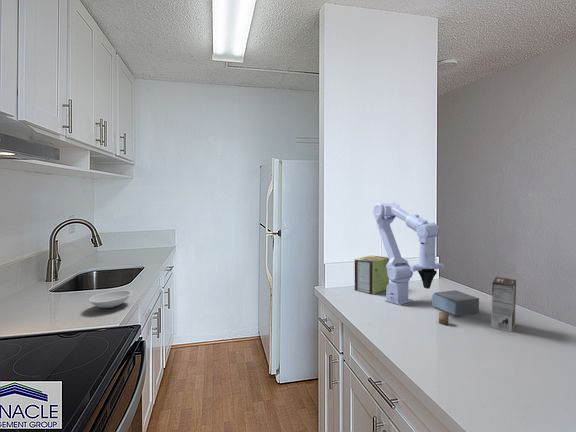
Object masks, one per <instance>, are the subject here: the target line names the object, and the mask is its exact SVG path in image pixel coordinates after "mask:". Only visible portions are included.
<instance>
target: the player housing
mask: <svg viewBox="0 0 576 432" xmlns="http://www.w3.org/2000/svg"><path fill="white" fill-rule="evenodd" d="M433 293H434V294H435V295H438V296H440V297H443V298H445V299H448V300H450V301H453V302H456V315H453V314H451V313H449V312H447V311H444V310H442V309H440V308H437V307H435V306H433V308H436V309H437V310H440V311H441V312H446V313H448V314H449V315H452V316H453V317H463V316H470V315H477V314H479V313H480V298H479V297H477V296H473V295H471V294H469V293H465V292H461V291H459V290H456V289H455V290H446V291H438V292H437V291H436V292H433Z"/></svg>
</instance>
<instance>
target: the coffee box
mask: <svg viewBox="0 0 576 432" xmlns="http://www.w3.org/2000/svg"><path fill="white" fill-rule="evenodd" d="M491 286H492V287H491V288H492V289H491V316H490V318H491V319H490V320H491V324H490V327H491V328H492V329H497V330H502V331H507V332H511V333H513V331H514V329H515V328H514V327H515V325H516V300H517V298H516V297H517V295H516V294H517V280H516V279H512V278H508V277H507V278H506V277H497V276H496V277H494V279H493V281H492V285H491Z"/></svg>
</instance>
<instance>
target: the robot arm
mask: <svg viewBox="0 0 576 432" xmlns="http://www.w3.org/2000/svg"><path fill="white" fill-rule="evenodd" d="M372 213H373V216H374V219H375V222H376V225H377V226H376V227H377V229H378V232H379V235H380V238H381V241H382V244H383V246H384V249H385V251H386V255H387V257H388V258H389V262H388V263H387V265H386V268H387V275H388V277H389V284H388V285H387V287H386V290H385V295H386V296H385V297H386V298H385V299H384V301H386V302H388V303H392V304H394V305H400V306H402V305H404V304H408V303H410V302H413V299H411V298H409V281H410V280H411V278H412V277H413V274H414V272H416V271H417V272H418V274H419V276H420V279H421V281H422V286H423V288H424V289H426V290H427V289H430V288H431V285H432V282H433V280H434V278H435V276H436V275H437V274H438V273H437V270H444V269H445V264H444V263H442V262H441V263H440V262H439V263H436V245H437V244H436V241H437V240H436V239H437V237H438V236H439V235H440V228H439V226H438V224H436V222H428V220H426V219H423V218H422V217H420V215H419V214H417V213H415V214H414V213H413V214H410V213H409V212H407V211H406V210H404V209H403V208H402V207H400V204H397V203H395V202H391V203H387V202H386V203H385V202H384V203H383V202H382V203H380V202H378V203H377V202H376V204H375V205H374V208H373V210H372ZM396 218H398V219H399V220H402V221H403V222H405V225H406V227H408V228H409V229H411V230H412V231H413V232H415V233H416V235H417V237H418V242H419V263H417V264H413V265H412V264H411V265H410V264H409V262H408V260H407V259H405V258H404V257H402V255H401V252H400V249H399V247H398V244H397V241H396V238H395V236H394V232H393V230H392V227H391V223H393V222H394V220H395V219H396Z"/></svg>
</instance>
